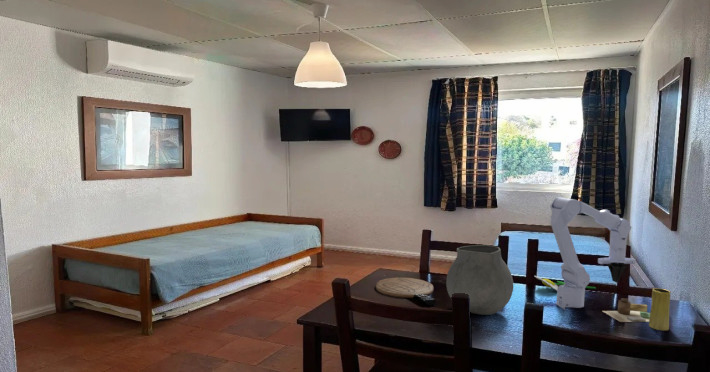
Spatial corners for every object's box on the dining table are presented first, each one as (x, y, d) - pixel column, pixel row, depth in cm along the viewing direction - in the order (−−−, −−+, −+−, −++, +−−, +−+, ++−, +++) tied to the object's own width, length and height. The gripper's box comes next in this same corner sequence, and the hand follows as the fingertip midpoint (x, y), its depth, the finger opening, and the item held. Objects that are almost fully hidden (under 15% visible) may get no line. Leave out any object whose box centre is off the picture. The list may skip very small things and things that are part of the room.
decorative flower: (584, 289, 217) (526, 282, 211) (586, 279, 217) (529, 272, 211) (603, 299, 205) (542, 293, 199) (606, 288, 204) (545, 282, 198)
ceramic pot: (467, 297, 195) (470, 238, 193) (523, 312, 178) (526, 247, 175) (432, 310, 178) (435, 246, 176) (490, 329, 160) (493, 257, 158)
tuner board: (620, 325, 167) (620, 319, 166) (601, 314, 178) (602, 308, 177) (662, 324, 168) (663, 319, 168) (641, 313, 179) (642, 308, 179)
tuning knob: (619, 313, 174) (620, 300, 174) (616, 310, 178) (617, 297, 177) (648, 316, 172) (649, 302, 171) (644, 312, 176) (645, 299, 175)
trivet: (402, 278, 222) (402, 274, 222) (445, 290, 204) (445, 286, 204) (364, 288, 205) (364, 284, 205) (407, 303, 187) (407, 298, 187)
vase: (644, 327, 165) (646, 287, 164) (660, 327, 166) (663, 287, 164) (656, 334, 159) (659, 293, 158) (673, 333, 159) (676, 293, 158)
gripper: (606, 250, 181) (604, 284, 183) (641, 250, 182) (639, 284, 184) (595, 246, 188) (593, 279, 190) (629, 246, 189) (627, 279, 191)
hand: (615, 281), depth 187 cm, fingers closed
